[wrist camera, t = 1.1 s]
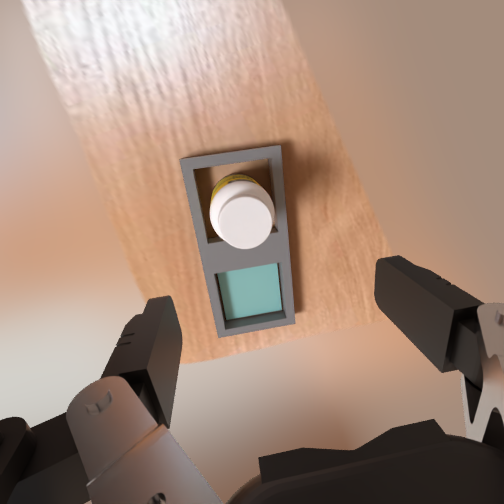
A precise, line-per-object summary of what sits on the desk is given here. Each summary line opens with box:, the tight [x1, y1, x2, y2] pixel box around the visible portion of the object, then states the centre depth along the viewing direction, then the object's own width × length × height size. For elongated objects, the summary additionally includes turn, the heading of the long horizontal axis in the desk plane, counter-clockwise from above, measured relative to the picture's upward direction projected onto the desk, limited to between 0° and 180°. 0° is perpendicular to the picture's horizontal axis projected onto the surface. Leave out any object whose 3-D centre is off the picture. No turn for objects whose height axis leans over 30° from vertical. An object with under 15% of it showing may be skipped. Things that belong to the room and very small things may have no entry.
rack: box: [180, 145, 295, 338], centre depth 30 cm, size 20×10×2 cm, turn 7°
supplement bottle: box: [210, 174, 274, 249], centre depth 24 cm, size 5×5×10 cm
